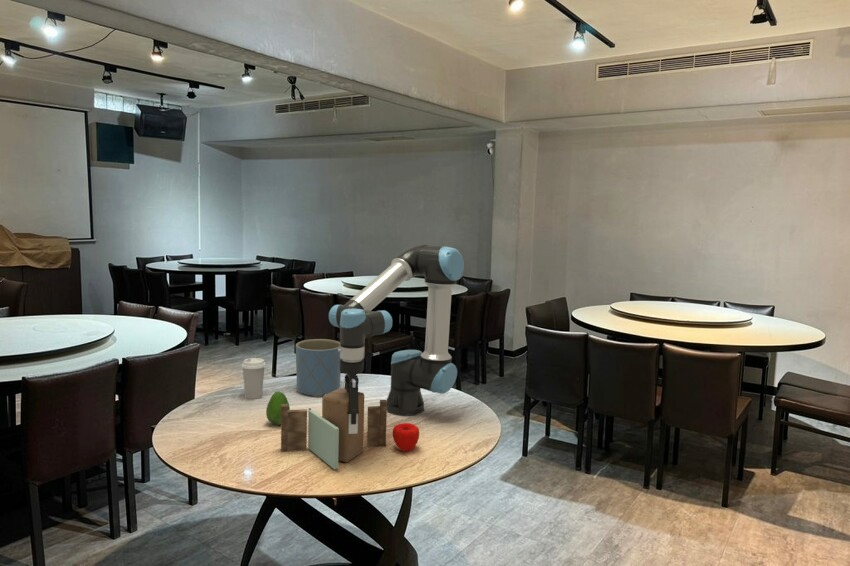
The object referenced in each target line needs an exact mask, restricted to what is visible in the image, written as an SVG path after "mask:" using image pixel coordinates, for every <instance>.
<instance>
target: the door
mask: <svg viewBox="0 0 850 566" xmlns="http://www.w3.org/2000/svg"><path fill="white" fill-rule="evenodd" d="M338 447H339V428H338V427H336V426H335V425H333V424H332V423H330V422H329V421H328V420H326V419H325V418H323V417H322V415H320V414H319V413H317V412H316V411H314V410H313V409H312V408H311V407H309V408H308V413H307V448H308V449H309V450H310V451H311V452H312V453H314V455H316V456H317V457H319V458H320V459H321V460H322V461H323V462H324V463H326V464H327V465H328V466H330V468H331V469H334V470H335V471H336V470H338V469H339V460H338Z"/></svg>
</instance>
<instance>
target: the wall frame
mask: <svg viewBox="0 0 850 566" xmlns="http://www.w3.org/2000/svg"><path fill="white" fill-rule="evenodd" d="M387 414H388V411H387V399H379V405H375V406H367V427H366V428H367V429H366V430H367V431H366V446H367V447H375V446H376V447H377V446H378V447H383V446H386V445H387ZM307 448H308V409H307V408H305V409H303V408H302V409H301V408H300V409H290V410H288V404H281V424H280V452H281V453H284V452H285V453H286V452H292V451H293V452H294V451H307V450H308V449H307Z"/></svg>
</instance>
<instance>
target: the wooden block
mask: <svg viewBox="0 0 850 566" xmlns="http://www.w3.org/2000/svg"><path fill="white" fill-rule="evenodd" d="M321 400H322V401H321V404H322V405H321V406H322V408H321V416H322V417H323V418H325V419H326V420H328V421H329V422H330V423H332V424H333V425H335V426H336V427H338V428H339V447H338V462H342V463H343V462H344V463H349V462H350V461H351V460H353V459H354V458H356V457H357V456H359V455H360V454H361V453H363V451H364V437H365V436H364V434H365V432H364V431H365V430H364V428H365V393H364V392H360V391H358V404H359V414H358V433H357V434H348V426H349V414H347V412H349V393H348V392H347V390H346V389H345V388H342V387H340V388H339V389H337V390H335V391H332V392H330V393H328V394H325V395H323V396H322V399H321ZM353 410H356V409H353Z"/></svg>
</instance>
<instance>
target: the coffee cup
mask: <svg viewBox="0 0 850 566" xmlns="http://www.w3.org/2000/svg"><path fill="white" fill-rule="evenodd" d="M266 366H267V365H266V362H265V360H264V359H263V358H261V357H260V358H258V357H250V358H246V359H244V360H243V361H242V362H241V365H240V367H241V369H242V377H243V386H244V387H243V389H244V398H245V399H246V400H260V399H262V397H263V389H264V387H263V386H264V377H265V369H266V368H265V367H266Z"/></svg>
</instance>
